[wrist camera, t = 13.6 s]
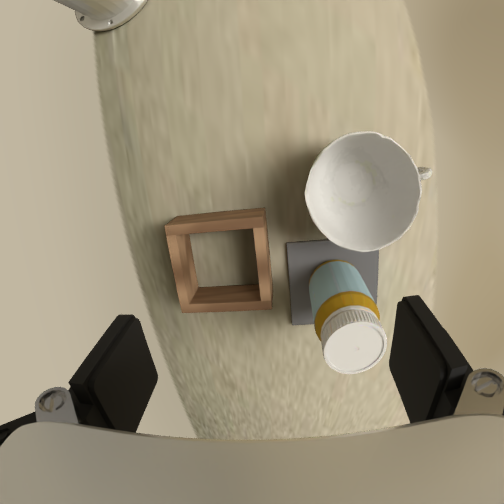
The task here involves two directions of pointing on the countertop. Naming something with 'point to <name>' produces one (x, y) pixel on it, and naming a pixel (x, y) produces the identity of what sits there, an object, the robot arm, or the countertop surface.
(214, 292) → the brown open frame
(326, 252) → the mat
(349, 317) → the bottle
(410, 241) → the countertop surface
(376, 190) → the teacup
